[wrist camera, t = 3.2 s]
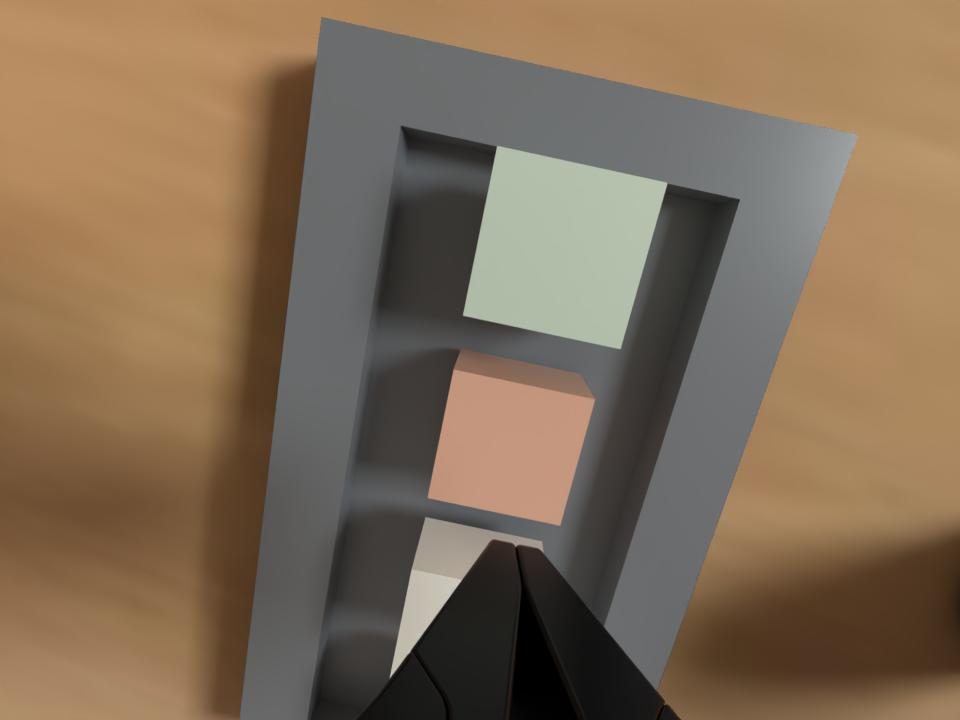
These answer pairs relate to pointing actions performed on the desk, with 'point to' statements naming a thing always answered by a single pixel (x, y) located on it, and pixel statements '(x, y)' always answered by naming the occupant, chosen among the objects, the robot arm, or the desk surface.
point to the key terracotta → (511, 437)
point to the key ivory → (441, 574)
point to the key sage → (562, 247)
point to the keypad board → (510, 346)
